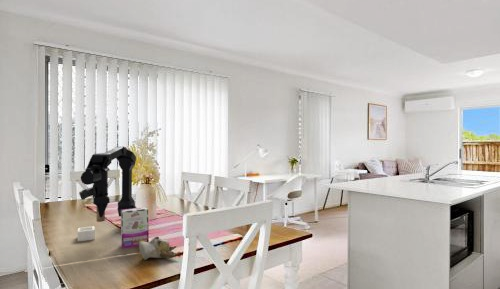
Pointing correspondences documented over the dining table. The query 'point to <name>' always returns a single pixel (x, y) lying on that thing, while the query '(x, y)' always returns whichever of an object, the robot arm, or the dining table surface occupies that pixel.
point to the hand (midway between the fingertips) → (100, 216)
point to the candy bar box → (134, 227)
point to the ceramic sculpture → (156, 249)
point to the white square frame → (86, 233)
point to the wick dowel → (100, 219)
